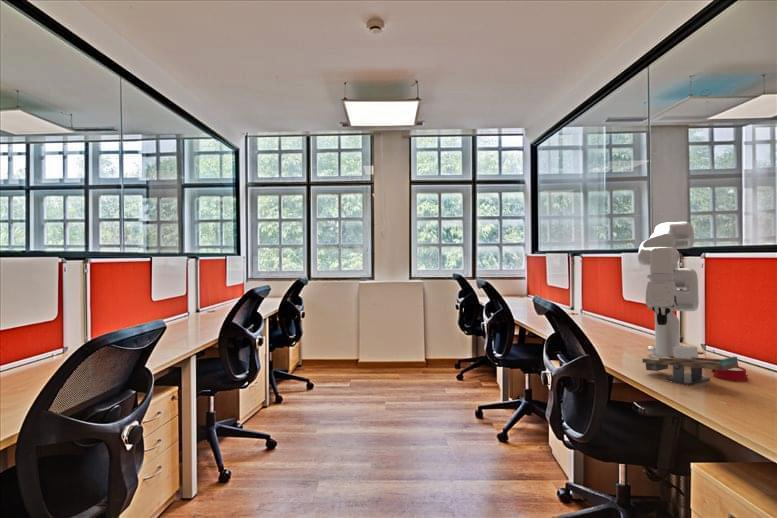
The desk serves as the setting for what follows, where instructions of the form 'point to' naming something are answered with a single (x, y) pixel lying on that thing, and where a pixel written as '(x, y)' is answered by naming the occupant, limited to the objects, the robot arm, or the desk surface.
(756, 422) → the desk surface
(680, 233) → the robot arm
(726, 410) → the desk surface
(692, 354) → the rider
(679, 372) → the stand
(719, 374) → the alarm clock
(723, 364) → the beam
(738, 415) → the desk surface
